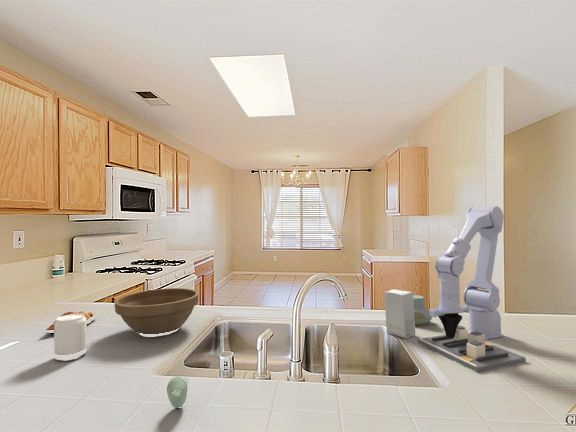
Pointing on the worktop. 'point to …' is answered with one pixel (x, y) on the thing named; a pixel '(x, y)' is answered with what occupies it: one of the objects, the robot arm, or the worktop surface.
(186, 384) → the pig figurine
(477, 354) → the switch
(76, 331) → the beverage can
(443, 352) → the console
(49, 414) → the worktop surface
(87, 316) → the croissant
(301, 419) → the worktop surface
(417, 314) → the air freshener
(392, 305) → the skincare box
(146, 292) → the brown round bowl
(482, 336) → the switch middle
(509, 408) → the worktop surface
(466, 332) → the switch
